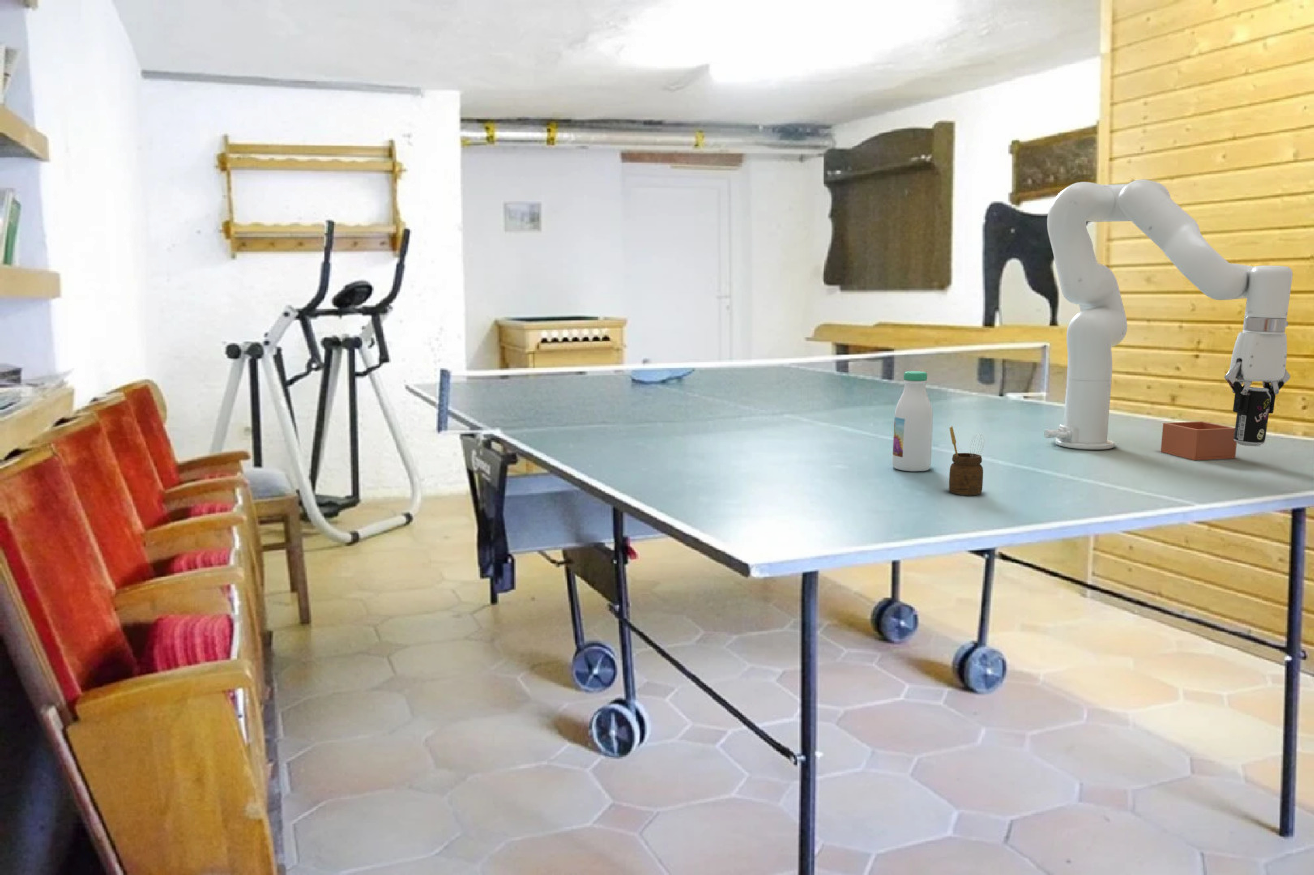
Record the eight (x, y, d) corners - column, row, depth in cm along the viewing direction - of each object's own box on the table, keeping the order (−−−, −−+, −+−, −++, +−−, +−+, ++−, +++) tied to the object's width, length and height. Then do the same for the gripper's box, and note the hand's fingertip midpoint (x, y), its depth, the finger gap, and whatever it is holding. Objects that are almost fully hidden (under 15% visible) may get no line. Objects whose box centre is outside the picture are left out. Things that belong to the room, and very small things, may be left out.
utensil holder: (977, 497, 183) (981, 431, 181) (942, 493, 186) (945, 428, 184) (986, 491, 188) (989, 427, 185) (952, 487, 191) (955, 424, 189)
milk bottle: (933, 466, 211) (938, 371, 208) (926, 473, 204) (931, 374, 201) (896, 463, 214) (900, 369, 211) (888, 470, 207) (892, 372, 204)
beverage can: (1264, 444, 214) (1272, 387, 212) (1263, 448, 209) (1271, 390, 207) (1233, 440, 217) (1241, 385, 215) (1232, 444, 212) (1239, 388, 210)
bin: (1194, 460, 218) (1197, 430, 217) (1160, 451, 228) (1163, 422, 227) (1235, 458, 220) (1238, 428, 219) (1200, 449, 230) (1202, 421, 229)
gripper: (1284, 325, 214) (1272, 409, 218) (1215, 324, 210) (1204, 410, 214) (1314, 327, 207) (1301, 415, 210) (1243, 327, 203) (1231, 416, 207)
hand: (1252, 411), depth 212 cm, fingers closed on beverage can, 5 cm apart
